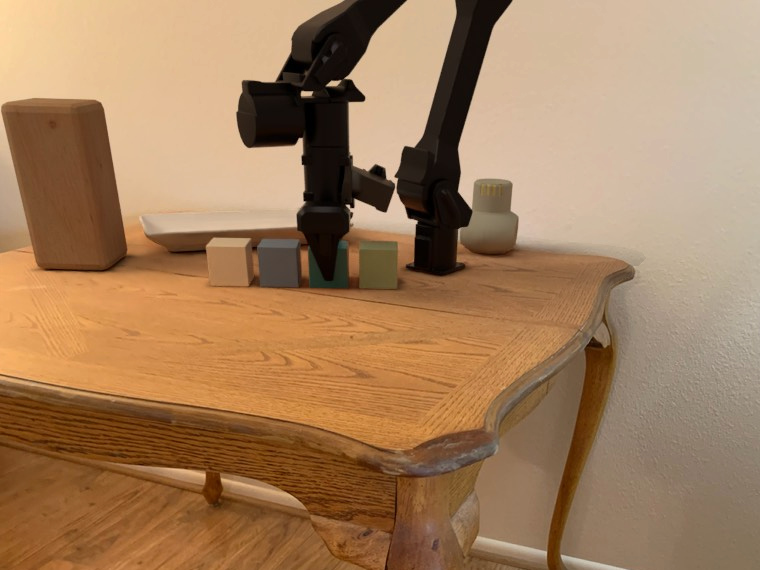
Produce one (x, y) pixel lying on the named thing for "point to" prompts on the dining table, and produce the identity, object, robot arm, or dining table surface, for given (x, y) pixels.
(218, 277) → the cream block
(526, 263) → the dining table surface
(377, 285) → the sage block
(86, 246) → the wooden block
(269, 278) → the slate block
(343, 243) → the teal block
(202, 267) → the dining table surface
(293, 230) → the tray
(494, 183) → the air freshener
